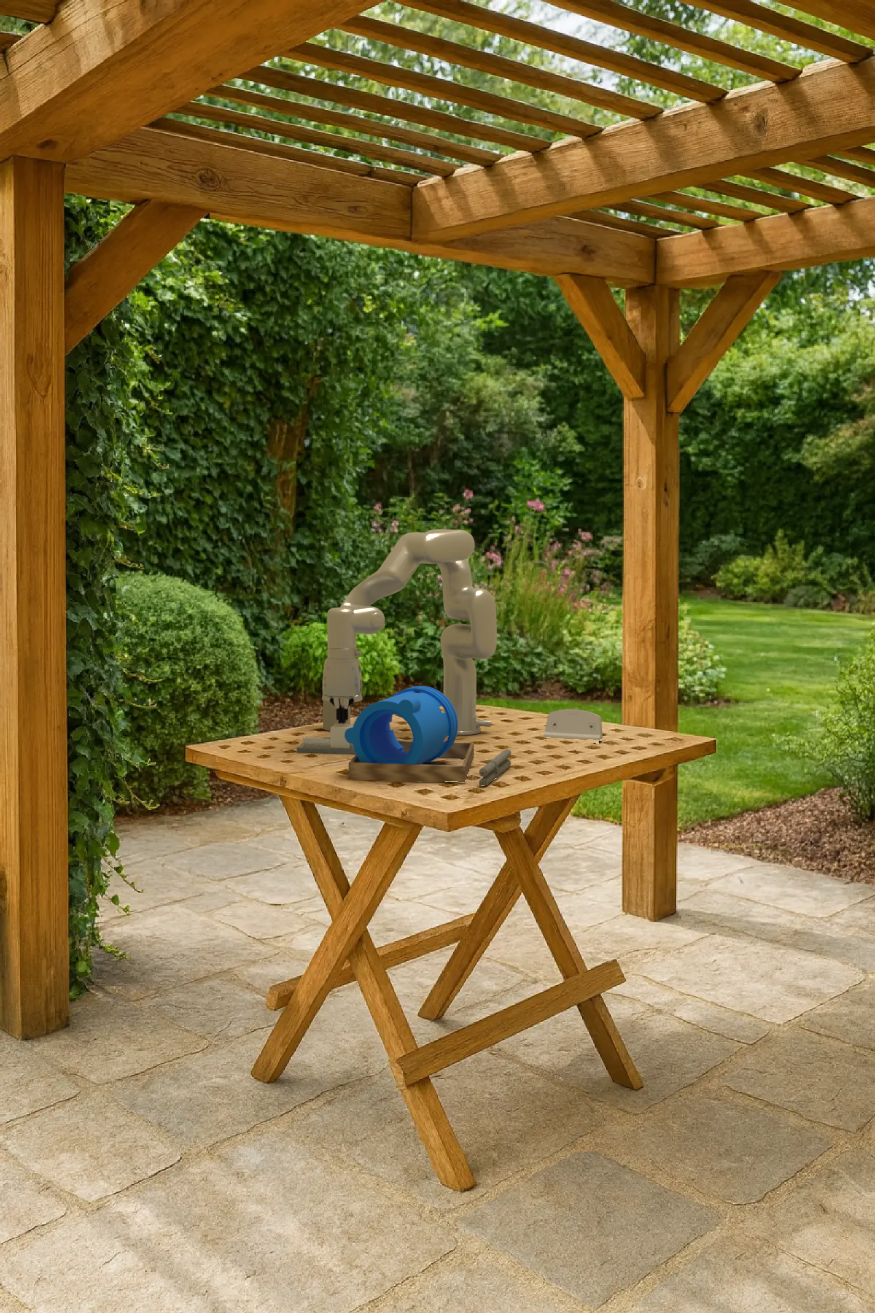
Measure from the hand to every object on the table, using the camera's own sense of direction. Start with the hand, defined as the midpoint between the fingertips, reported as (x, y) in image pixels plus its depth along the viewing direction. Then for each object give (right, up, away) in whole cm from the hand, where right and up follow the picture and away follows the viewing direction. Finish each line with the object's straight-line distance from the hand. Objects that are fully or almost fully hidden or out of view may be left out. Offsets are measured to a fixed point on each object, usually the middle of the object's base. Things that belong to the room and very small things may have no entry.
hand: (342, 722), depth 322 cm
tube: (+17, -11, -23) cm, 31 cm away
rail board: (0, -7, +1) cm, 7 cm away
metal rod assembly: (+39, -12, -31) cm, 51 cm away
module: (0, -6, 0) cm, 6 cm away
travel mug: (-4, -4, +33) cm, 33 cm away
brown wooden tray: (+20, -10, -22) cm, 31 cm away
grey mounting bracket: (+64, -6, +20) cm, 67 cm away
